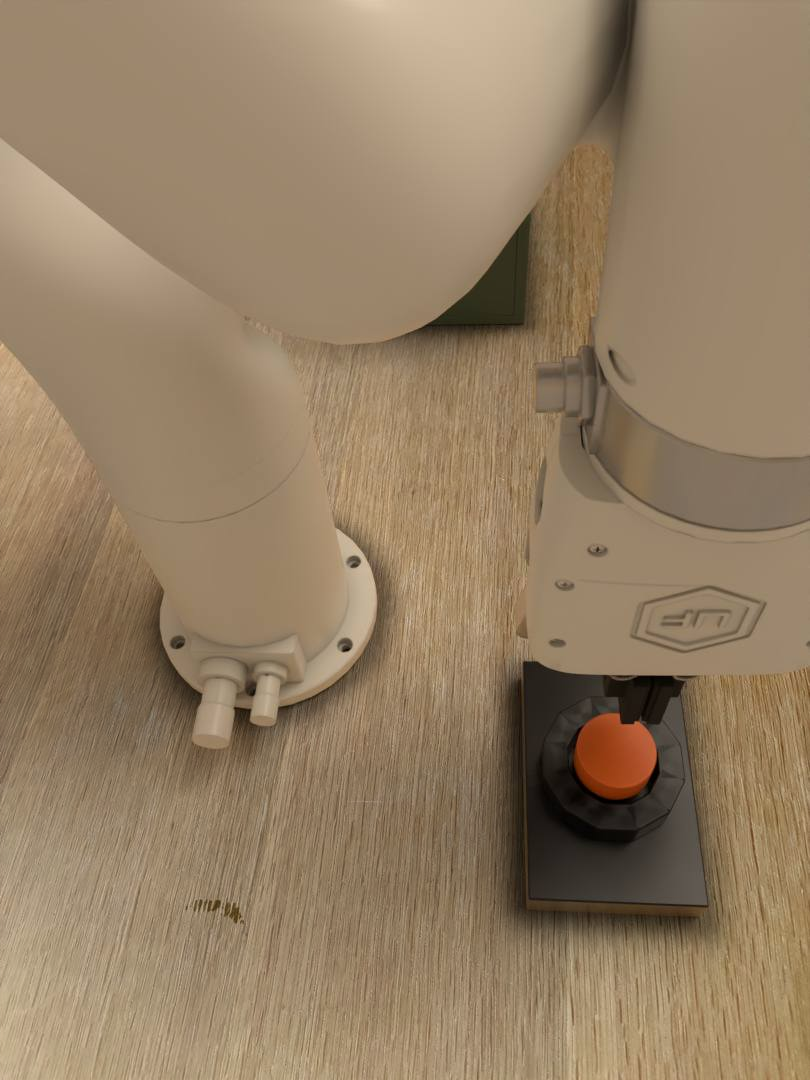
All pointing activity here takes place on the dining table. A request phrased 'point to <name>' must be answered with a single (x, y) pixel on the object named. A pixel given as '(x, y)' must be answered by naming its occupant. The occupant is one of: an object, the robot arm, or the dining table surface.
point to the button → (614, 757)
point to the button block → (605, 811)
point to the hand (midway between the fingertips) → (635, 692)
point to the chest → (496, 289)
